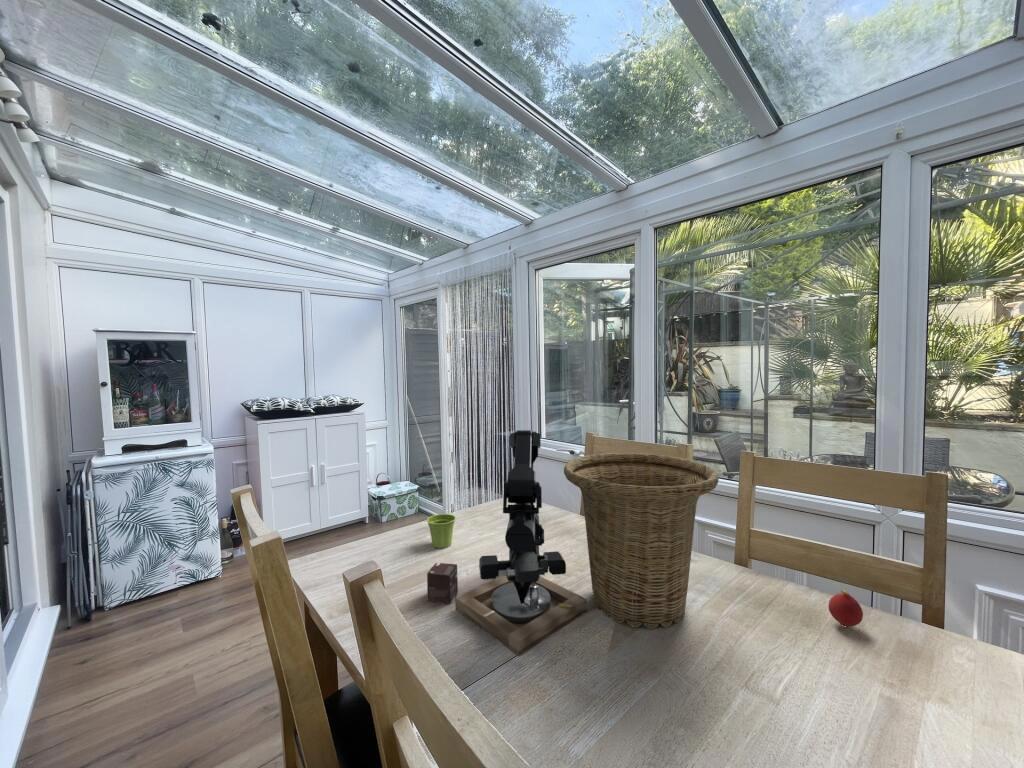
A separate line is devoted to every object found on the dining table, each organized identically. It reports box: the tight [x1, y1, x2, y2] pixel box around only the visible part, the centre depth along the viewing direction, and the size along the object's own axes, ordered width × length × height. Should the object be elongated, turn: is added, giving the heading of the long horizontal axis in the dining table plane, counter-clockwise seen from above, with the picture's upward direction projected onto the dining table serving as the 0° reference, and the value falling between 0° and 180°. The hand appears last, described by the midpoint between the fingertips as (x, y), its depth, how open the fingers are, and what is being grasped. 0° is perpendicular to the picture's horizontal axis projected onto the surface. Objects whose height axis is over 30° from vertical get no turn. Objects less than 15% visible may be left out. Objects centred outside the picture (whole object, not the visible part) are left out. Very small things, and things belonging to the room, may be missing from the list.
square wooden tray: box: [454, 574, 588, 657], centre depth 98 cm, size 22×22×3 cm
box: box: [426, 562, 459, 605], centre depth 105 cm, size 6×6×7 cm
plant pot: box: [426, 513, 457, 549], centre depth 136 cm, size 9×9×9 cm
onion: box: [827, 589, 864, 628], centre depth 91 cm, size 6×6×8 cm
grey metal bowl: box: [491, 583, 551, 624], centre depth 98 cm, size 14×14×7 cm
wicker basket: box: [563, 452, 719, 630], centre depth 101 cm, size 35×35×33 cm
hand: (521, 602), depth 93 cm, fingers closed
